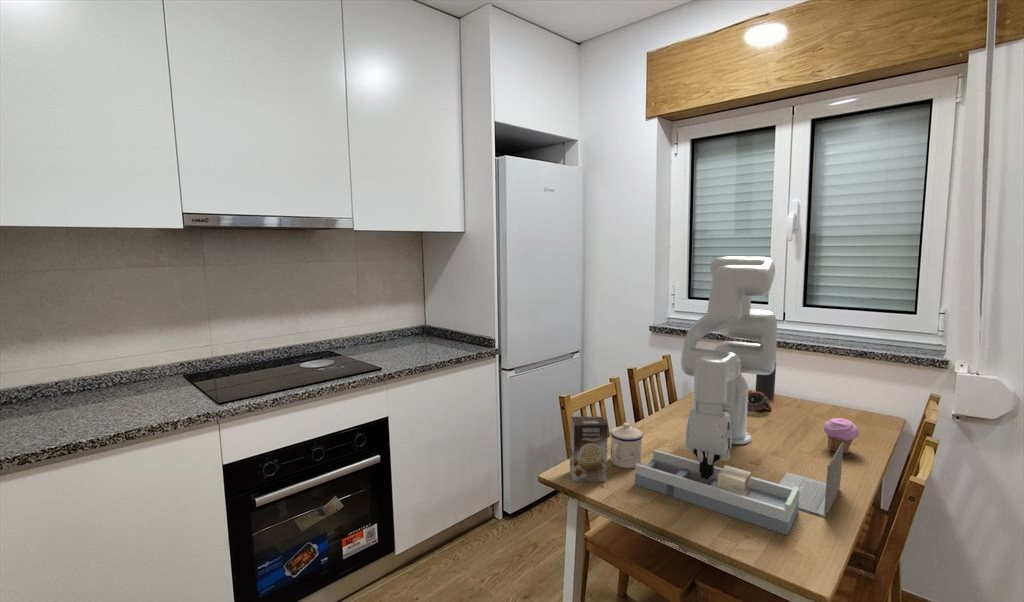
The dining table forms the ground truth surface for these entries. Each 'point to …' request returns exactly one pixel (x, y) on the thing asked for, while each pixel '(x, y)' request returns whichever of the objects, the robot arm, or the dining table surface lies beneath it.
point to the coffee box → (588, 449)
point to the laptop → (817, 487)
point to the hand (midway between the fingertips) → (706, 476)
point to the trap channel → (720, 492)
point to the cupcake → (840, 433)
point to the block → (734, 480)
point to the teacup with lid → (626, 446)
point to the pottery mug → (761, 401)
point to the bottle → (766, 384)
